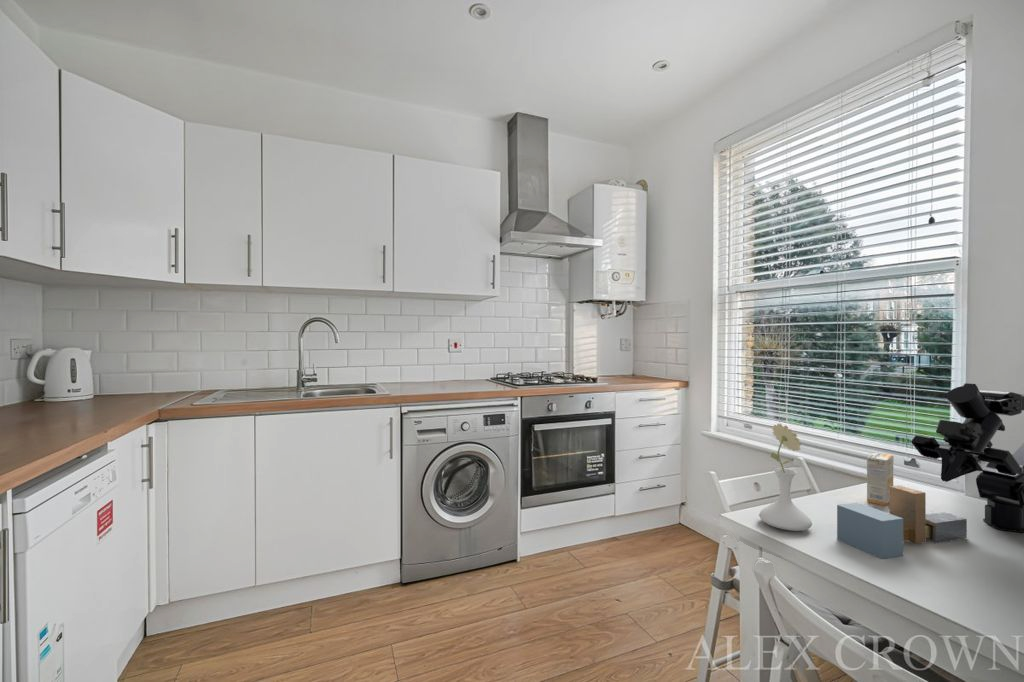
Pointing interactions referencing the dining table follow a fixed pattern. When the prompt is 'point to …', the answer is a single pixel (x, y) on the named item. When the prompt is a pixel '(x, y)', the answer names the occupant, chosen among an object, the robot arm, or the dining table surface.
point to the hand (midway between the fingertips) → (943, 480)
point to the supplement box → (879, 478)
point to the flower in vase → (785, 489)
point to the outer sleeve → (946, 527)
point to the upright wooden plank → (911, 513)
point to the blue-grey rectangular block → (870, 530)
